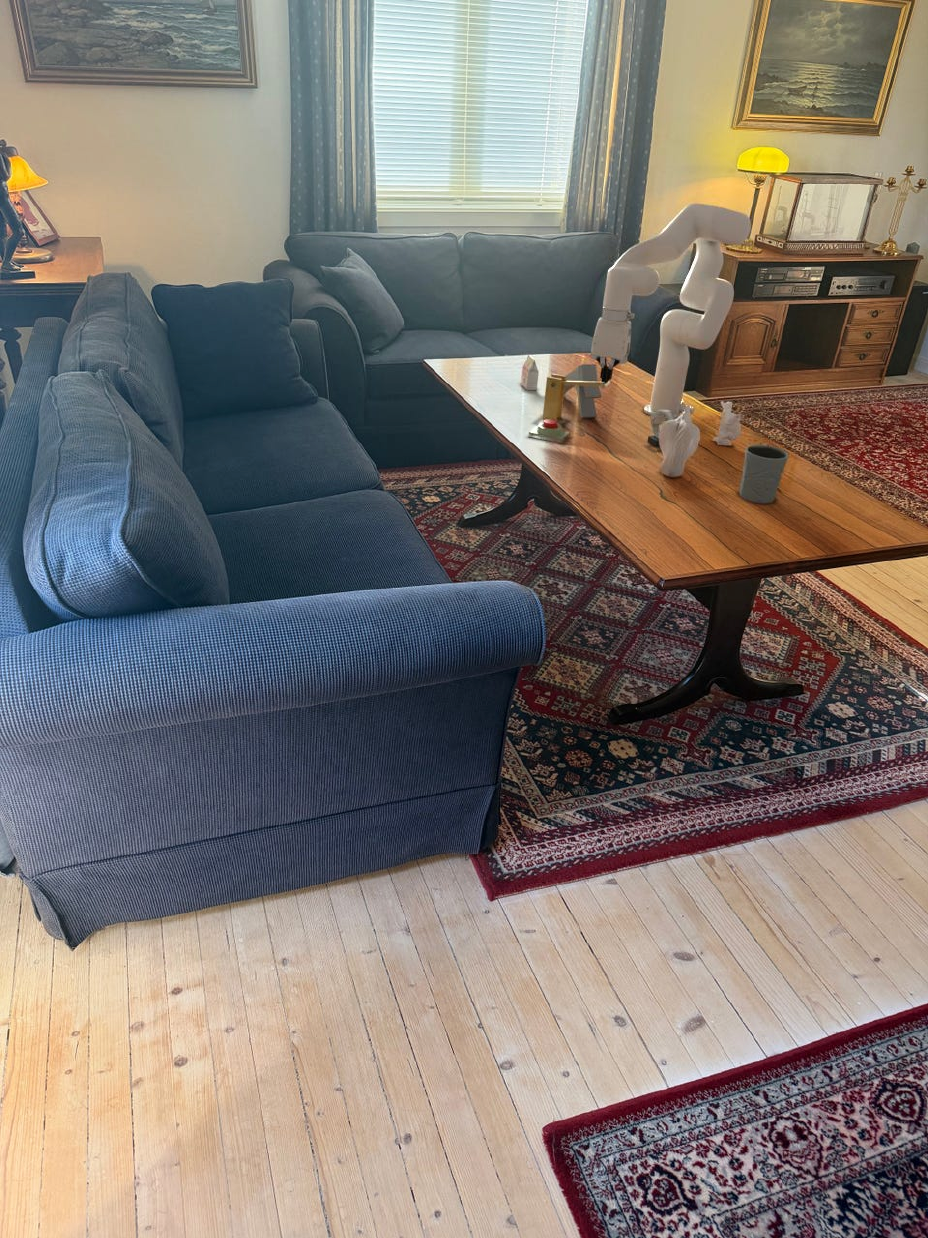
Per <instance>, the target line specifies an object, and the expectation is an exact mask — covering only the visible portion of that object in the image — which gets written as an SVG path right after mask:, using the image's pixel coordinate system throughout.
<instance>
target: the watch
mask: <svg viewBox="0 0 928 1238" xmlns="http://www.w3.org/2000/svg"><path fill="white" fill-rule="evenodd" d="M649 420H650V427H651V430H652V433H653V435H648V436H647V441H646V442H647V443H648V444H650V445H651V446H653V447H655V448H660V445H659V431H660V426H661V425H662V424H663V423H664V422H666V420H667V421H670V420H675V419H674V415H673V413H672V412H671V411H669V410H664V409H661V410H658V411H656V412H655V413H653V414H652V416H650V417H649Z"/></svg>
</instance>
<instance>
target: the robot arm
mask: <svg viewBox="0 0 928 1238" xmlns="http://www.w3.org/2000/svg"><path fill="white" fill-rule="evenodd" d="M751 230H752V222H751V218H750V217H749V215H748V214H746V213H744V212H740V211H738V210H737V211H736V210H733V209H730V208H727V207H723V206H718V205H713V204H712V205H711V204H704V203H697V202H696V203H689V204H688V205H686V206H685V207H684V208H683V209H681V210H680V212H679V213H677V215H676V216H675V217H674V218H673V219H672V220H671V221H670V222H669V223H668V224H667V226H666V227H665V228H664V229H663V230H662V231H660V233H659V234H657V235H655V236H652V237H650V238H648V239H645V240H643V241H641V242H639V243H636V244H635V245H633V246H631V247H629V248H628V249H627V250H626V251H625V252H624V253H623V254H622V255H621V256H620V257H619V258H618V259H617V260H616V261H615V263H614V265H613V266H612V267H610V268H609V269H608V270H607V275H606V282H605V289H604V295H603V303H602V310H601V316H600V317H599V318H598V320H597V322H596V326H595V329H594V334H593V337H592V342H591V348H590V349H591V352H590V355H589V358H591V359H592V360H594V361H597V363H598V364H599V366H600V375H599V378H600V382H605V383H607V382H609V380H610V381H611V380H612V378H613V371H614V368H615V367H616V366H618V365H624V364H625V365H626V364H627V363H628V362H629V361H628V356H629V354H630V349H631V338H632V322H631V321H630V320H631V319H634V318H635V313H633V312H631V311H632V310H631V306H632V301H633V296H638V297H648V296H651V295H653V294H654V293H655V292H656V291H657V290H658V288H659V286H660V281H661V280H660V279H661V278H660V274H659V272H658V271H657V270H656V269H654V268H653V267H650V266H651V265H656V264H663V263H669V262H672V261H676V260H678V259H679V258H681V257H682V255H683V254H684V253H685V252H686V251H687V250H688V249H689V248H690V247H691V245H692V244H693V243H694V242H695V245H696V246H695V247H696V248H695V249H696V251H695V257H694V260H693V262H692V265H691V267H690V270H689V272H688V274H687V276H686V278H685V281H684V283H683V285H682V288H681V290H680V292H679V293H680V294H679V301H680V303H681V304H682V305H683V306H684V307H687V308H689V309H693V310H698V311H701V312H704V313H703V314H701V313H697V312H694V311H690V310H685V309H680V308H679V309H671V310H669V311H667V312H666V313H665V314H664V315H663V317H662V319H661V321H660V328H659V333H660V334H659V336H660V337H659V338H660V341H659V351H658V357H657V363H656V368H655V373H654V378H653V379H654V380H653V385H652V391H651V396H650V401H649V404H646V405H645V406H644V409H643V411H644V413H645V414H646V415H648V416H650V417H651V416H652V414H653V413H655V412H656V411H658V410H661V409H664V410H669V411H671V412H672V413H673V415H674V420H675V419H677V418H678V417H679V416H680V415H681V414H682V411H683V416H684V409H685V410H686V405H687V406H690V414H692V415H693V414H694V412H695V407H693V406H692V405H689V404H685V403H684V401H685V400H684V399H683V395H684V391H685V390H684V389H685V385H686V380H687V375H688V370H689V366H690V351H689V347H690V348H692V349H693V348H694V349H696V350H707V349H709V348H710V347H711V346H713V344H714V343H715V341H716V339H717V338H718V335H719V334H720V331H721V329H722V327H723V324H724V323H725V320H726V318H727V316H728V315H729V313H730V309H731V307H732V306H733V305H732V304H733V302H734V295H735V291H734V290H735V289H734V286H733V284H732V283H731V282H730V281H728V280H726V279H722V278H719V276H720V274H721V271H722V268H723V266H724V253H723V250H722V247H721V244H723V245H724V244H725V245H730V246H739V245H741V244H743V243H744V242H745V241H746V240H747V239H748V237H749V236H750V233H751ZM608 359H610V360H609V363H608Z"/></svg>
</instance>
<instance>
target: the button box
mask: <svg viewBox="0 0 928 1238" xmlns="http://www.w3.org/2000/svg"><path fill="white" fill-rule="evenodd" d="M570 433H571V432H570V431H567V430H563V426H562V425H561V424H560V423H557V428H555V429H549V428H545V427H543V422H539V423H538V424H537V425H536V426H535V427H533V428H532V429H531V430H530V431H528V434H530V435H536V436H540V437H545V438H550V439H555V440H559V441H563V440H564V439H565V438H566V437H567V436H568V435H569V434H570ZM528 439H531V440H532V439H533V440H538V441H543V442H549V443H553V444H557V445H562V444H563V443H562V442H559V441H554V440H549V439H543V438H539V437H533V436H528Z"/></svg>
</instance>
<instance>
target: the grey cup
mask: <svg viewBox="0 0 928 1238" xmlns="http://www.w3.org/2000/svg"><path fill="white" fill-rule="evenodd" d="M744 453H745V454H744V461H743V470H742V475H741V482H740V485H739V497H740V498H742V499H743V500H745V501H747V502H750V503H755V504H762V505H763V504H764V505H765V504H766V505H767V504H770V503H773V502H774V501H775V498H776V495H777V492H778V488H779V485H780V484H781V480H782V474H783V473H784V469H785V467H786V464H787V461H788V458H789V453H788V452H787V451H785V450H783V449H782V448H779V447H776V446H771V445H767V444H766V445H765V444H753V445H749V446H747V447H746V448H745V452H744Z"/></svg>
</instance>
